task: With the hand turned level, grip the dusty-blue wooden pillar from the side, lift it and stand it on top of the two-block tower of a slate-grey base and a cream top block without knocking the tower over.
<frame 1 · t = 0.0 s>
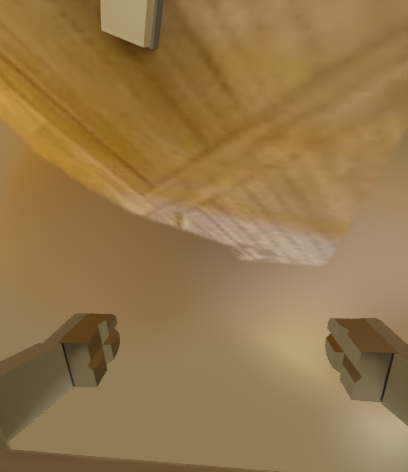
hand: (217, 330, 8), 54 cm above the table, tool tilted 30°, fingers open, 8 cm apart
tower base: (140, 13, 40), on the table, touching tower top
tower top: (132, 12, 36), point 5 cm above the table, touching tower base
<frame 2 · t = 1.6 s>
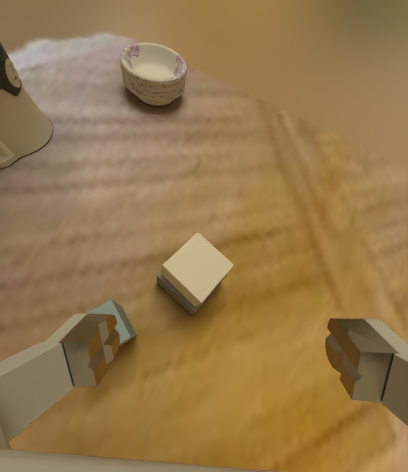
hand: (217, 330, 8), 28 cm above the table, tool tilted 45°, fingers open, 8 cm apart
tower base: (189, 281, 37), on the table, touching tower top
tower top: (193, 273, 33), point 5 cm above the table, touching tower base
blue pillar: (113, 330, 32), on the table
paper bowls: (154, 95, 55), on the table
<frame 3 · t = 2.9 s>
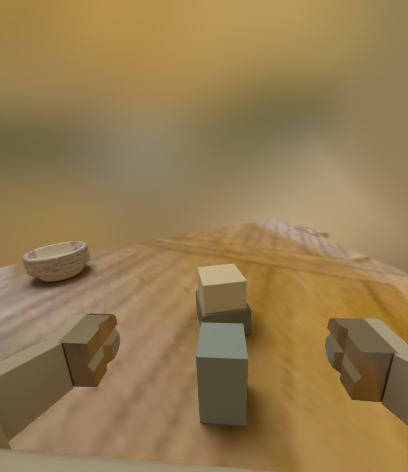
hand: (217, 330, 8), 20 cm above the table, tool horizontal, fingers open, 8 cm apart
tower base: (221, 323, 38), on the table
tower top: (220, 299, 37), point 5 cm above the table
blue pillar: (222, 400, 25), on the table
paper bowls: (63, 275, 61), on the table
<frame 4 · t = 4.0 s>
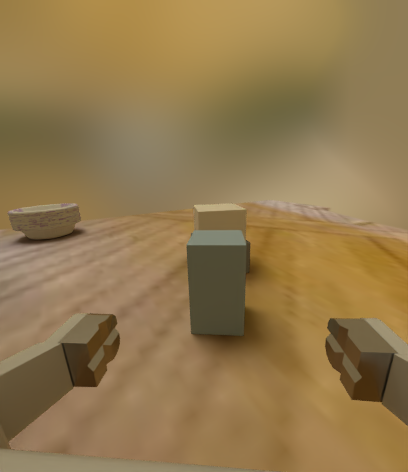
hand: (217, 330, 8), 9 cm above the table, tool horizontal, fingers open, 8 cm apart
tower top: (217, 237, 34), point 5 cm above the table, touching tower base
blue pillar: (217, 317, 22), on the table
paper bowls: (52, 236, 58), on the table
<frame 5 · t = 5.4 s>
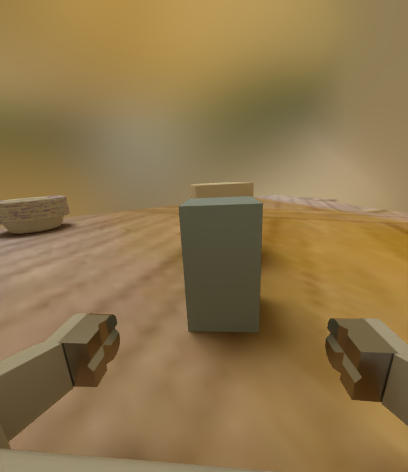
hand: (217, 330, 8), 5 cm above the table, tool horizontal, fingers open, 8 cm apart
tower top: (219, 220, 29), point 5 cm above the table, touching tower base
blue pillar: (222, 310, 17), on the table
paper bowls: (37, 230, 53), on the table
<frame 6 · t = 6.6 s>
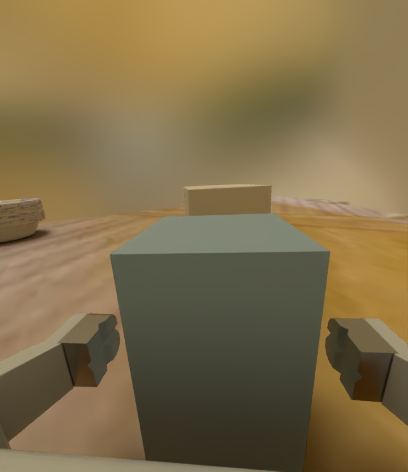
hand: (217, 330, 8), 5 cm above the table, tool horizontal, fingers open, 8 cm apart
tower top: (222, 235, 22), point 5 cm above the table, touching tower base
blue pillar: (222, 418, 10), on the table
paper bowls: (6, 239, 45), on the table
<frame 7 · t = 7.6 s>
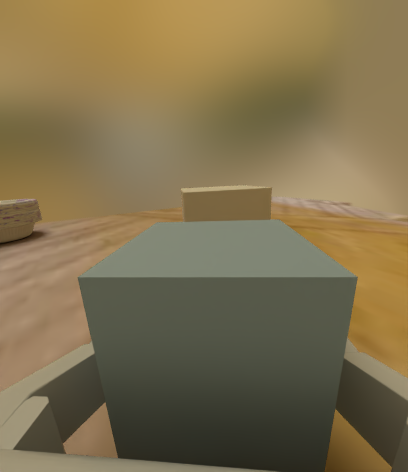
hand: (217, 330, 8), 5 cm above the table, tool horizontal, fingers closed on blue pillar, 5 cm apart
tower top: (220, 239, 21), point 5 cm above the table, touching tower base
blue pillar: (220, 449, 9), on the table, touching gripper
paper bowls: (1, 240, 44), on the table
when the fingers open (16 cm above the table, at t = 14.1 s): blue pillar drops 1 cm, resting on tower top.
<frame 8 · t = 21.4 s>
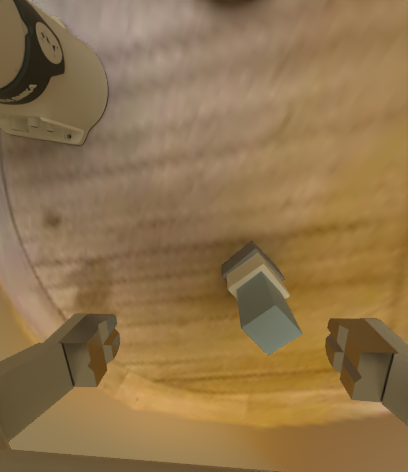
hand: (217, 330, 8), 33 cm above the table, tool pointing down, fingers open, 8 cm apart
tower base: (249, 266, 43), on the table, touching tower top
tower top: (253, 277, 38), point 5 cm above the table, touching blue pillar, tower base
blue pillar: (258, 291, 33), point 10 cm above the table, touching tower top
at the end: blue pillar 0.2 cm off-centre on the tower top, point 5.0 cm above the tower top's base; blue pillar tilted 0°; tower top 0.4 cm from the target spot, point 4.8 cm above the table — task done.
